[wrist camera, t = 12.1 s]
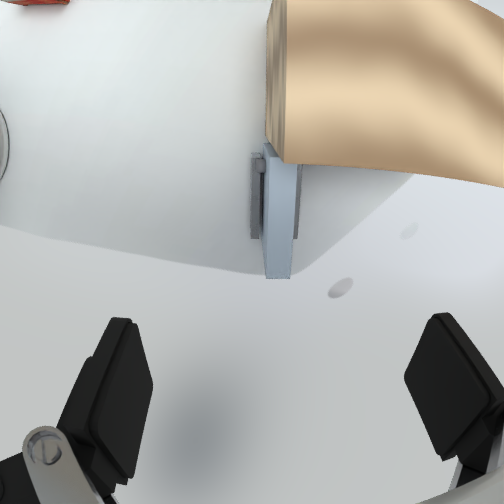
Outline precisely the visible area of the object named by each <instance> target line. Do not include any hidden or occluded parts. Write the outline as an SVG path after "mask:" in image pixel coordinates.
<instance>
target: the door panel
mask: <svg viewBox="0 0 504 504" xmlns="http://www.w3.org/2000/svg"><path fill="white" fill-rule="evenodd" d="M256 173H263V189H262V233H261V236H262V246H263V255H264V264H265V273H266V279H290V272H291V259H292V246H293V231H294V216H295V200H296V181H297V164H285V163H283V161H282V160H281V158H280V157H279V155H278V154H277V152H276V151H275V149H274V148H273V146H272V145H271V143H263V159H256Z"/></svg>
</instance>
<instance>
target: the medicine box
mask: <svg viewBox="0 0 504 504" xmlns="http://www.w3.org/2000/svg"><path fill="white" fill-rule="evenodd" d="M1 1H4V2H8V3H13V4H18V5H23V6H27V5H28V4H53V3H63V4H68V2H70V0H1Z"/></svg>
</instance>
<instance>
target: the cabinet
mask: <svg viewBox="0 0 504 504" xmlns="http://www.w3.org/2000/svg"><path fill="white" fill-rule="evenodd" d="M265 136H266V137H267V139H268V140H269V142H270V143H271V145H272V146H273V148H274V149H275V151H276V152H277V154H278V155H279V157H280V158H281V160H282V161H283V163H285V164H310V165H328V166H344V167H357V168H369V169H379V170H389V171H398V172H407V173H415V174H423V175H431V176H438V177H445V178H452V179H458V180H464V181H470V182H476V183H481V184H487V185H492V186H497V187H502V188H504V19H503V18H501V17H499V16H497V15H496V14H494V13H492V12H491V11H489V10H487V9H485V8H483V7H481V6H479V5H478V4H476V3H474V2H472V1H470V0H273V1H272V4H271V8H270V12H269V16H268V20H267V65H266V124H265Z"/></svg>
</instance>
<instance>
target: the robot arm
mask: <svg viewBox="0 0 504 504" xmlns="http://www.w3.org/2000/svg"><path fill="white" fill-rule="evenodd" d="M7 158H8V133H7V128H6V124H5V121H4V118H3V116H2V114H1V112H0V179H1V177H2V175H3V173H4V170H5V167H6V163H7ZM404 381H405V383H406V385H407V387H408V390H409V392H410V394H411V396H412V398H413V401H414V402H415V405H416V407H417V409H418V411H419V414H420V416H421V418H422V421H423V423H424V425H425V428H426V430H427V432H428V435H429V437H430V440H431V442H432V444H433V447H434V449H435V452H436V453H437V454H438V455H440V456H441V459H442V461H445V460H448V459H450V458H453V457H455V456H456V455H457V456H458V458H459V460H458V463H457V467H456V470H455V473H454V476H453V479H452V481H451V484H450V487H449V490H448V492H446V493H444V494H441V495H439V496H436V497H433V498H431V499H428V500H425V501H423V502H420V503H417V504H504V387H503V386H502V384H501V383H500V381H499V380H498V378H497V377H496V375H495V374H494V372H493V371H492V369H491V368H490V367H489V365H488V364H487V362H486V361H485V359H484V358H483V356H482V355H481V354H480V352H479V351H478V349H477V348H476V347H475V345H474V344H473V343H472V341H471V340H470V339H469V337H468V336H467V334H466V333H465V332H464V330H463V329H462V328H461V327H460V325H459V324H458V323H457V321H456V320H455V319H454V318H453V316H452V315H451V314H450V313H448V312H447V313H437V314H434V315H433V316H432V317H431V319H429V320H428V322H427V324H426V327H425V329H424V331H423V334H422V336H421V338H420V341H419V343H418V345H417V347H416V350H415V352H414V354H413V356H412V358H411V361H410V363H409V365H408V367H407V369H406V371H405V374H404ZM152 391H153V381H152V377H151V374H150V371H149V367H148V363H147V360H146V356H145V352H144V349H143V345H142V341H141V337H140V333H139V329H138V326H137V324H135V323H132V320H131V319H129V318H117V317H113V318H111V320H110V321H109V324H108V326H107V328H106V330H105V331H104V333H103V336H102V337H101V340H100V342H99V344H98V346H97V348H96V350H95V352H94V354H93V356H92V357H91V356H90V357H89V358H87V359H86V361H85V363H84V365H83V367H82V369H81V371H80V373H79V375H78V378H77V380H76V382H75V384H74V386H73V389H72V391H71V393H70V396H69V398H68V400H67V403H66V405H65V407H64V409H63V412H62V414H61V417H60V419H59V422H58V424H57V426H56V428H54V427H51V426H42V427H37V428H36V429H34V430H32V431H31V432H30V433H29V434H28V435H27V436H26V438H25V440H24V442H23V447H22V451H23V452H21V453H18V454H16V455H14V456H12V457H9V458H7V459H5V460H3V461H0V504H119V502H118V501H117V499H116V498H115V496H114V494H113V493H114V492H115V487H116V483H117V484H122V485H127V482H128V478H130V479H132V478H133V476H134V473H135V469H136V463H137V459H138V454H139V449H140V444H141V439H142V435H143V430H144V426H145V421H146V417H147V412H148V408H149V404H150V400H151V396H152Z"/></svg>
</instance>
